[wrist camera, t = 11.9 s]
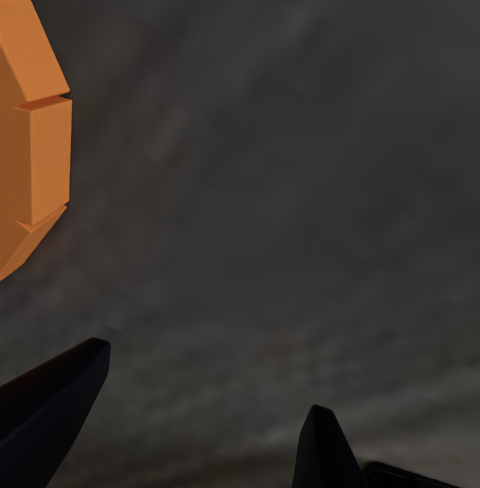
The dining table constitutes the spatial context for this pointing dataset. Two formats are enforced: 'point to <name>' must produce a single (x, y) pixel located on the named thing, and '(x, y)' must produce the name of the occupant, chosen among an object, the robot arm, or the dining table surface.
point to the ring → (30, 135)
